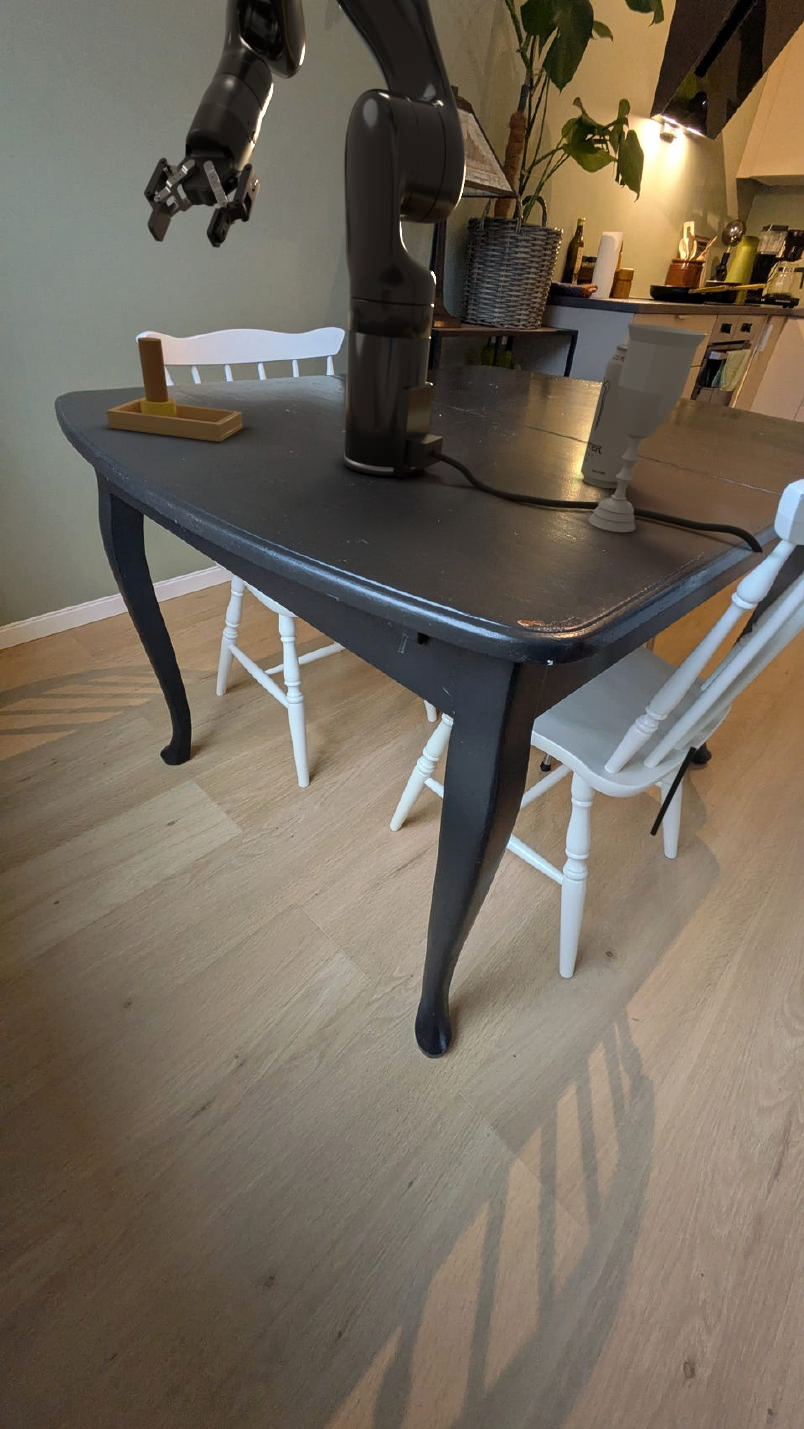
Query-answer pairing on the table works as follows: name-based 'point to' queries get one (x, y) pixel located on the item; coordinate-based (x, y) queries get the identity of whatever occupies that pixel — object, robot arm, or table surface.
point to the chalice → (646, 403)
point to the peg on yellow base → (154, 379)
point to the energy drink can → (607, 430)
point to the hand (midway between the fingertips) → (183, 238)
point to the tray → (177, 421)
